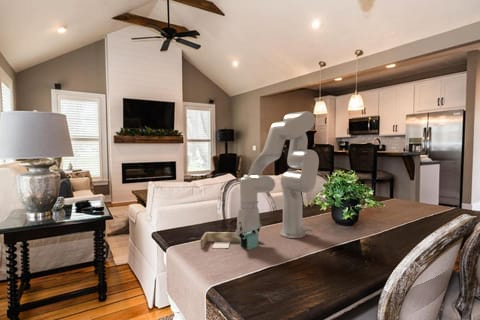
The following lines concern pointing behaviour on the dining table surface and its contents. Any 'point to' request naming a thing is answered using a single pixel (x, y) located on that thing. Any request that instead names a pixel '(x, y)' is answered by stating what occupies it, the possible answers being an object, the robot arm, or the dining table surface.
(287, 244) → the dining table surface
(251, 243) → the cube
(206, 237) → the wooden l-shaped bar
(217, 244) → the pad
